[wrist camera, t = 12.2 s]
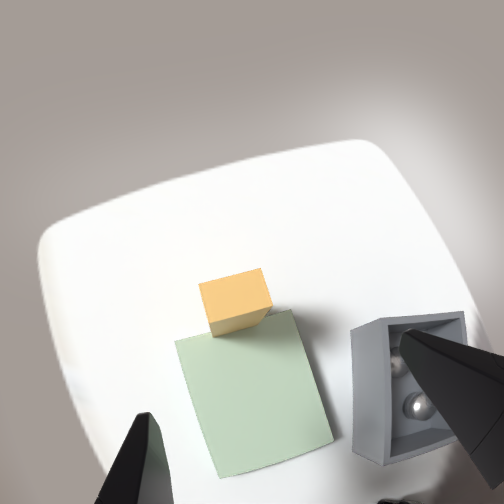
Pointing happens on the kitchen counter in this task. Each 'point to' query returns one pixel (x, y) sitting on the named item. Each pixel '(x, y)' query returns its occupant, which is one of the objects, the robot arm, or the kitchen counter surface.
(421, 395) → the grey metallic ball
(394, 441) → the tub
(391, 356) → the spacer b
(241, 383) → the lid
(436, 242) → the kitchen counter surface
